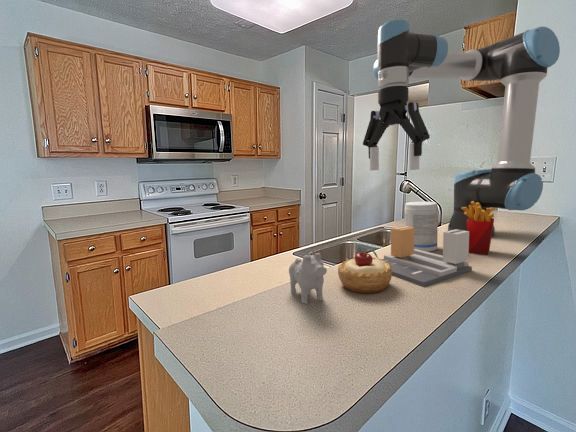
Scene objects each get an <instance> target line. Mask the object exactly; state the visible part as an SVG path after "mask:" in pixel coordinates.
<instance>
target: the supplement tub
mask: <svg viewBox="0 0 576 432" xmlns="http://www.w3.org/2000/svg"><path fill="white" fill-rule="evenodd" d="M438 215H439V213H438V203H437V202H434V201H409V202H408V201H407V202H406V203H405V205H404V226H409V227H412V228H414V249H418V250H422V251H426V252H430V253H432V252H433V251H436V250H437V249H438V229H439V228H438V226H439V225H438V222H439V221H438V217H439V216H438Z"/></svg>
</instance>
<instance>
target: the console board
mask: <svg viewBox="0 0 576 432" xmlns="http://www.w3.org/2000/svg"><path fill="white" fill-rule="evenodd" d="M442 237H443V238H442V239H443V240H442V255H441V254H437V253H434V252H426V251H422V250H418V249H414V255H410V260H405V259H402V258H398V257H395V256H393V255H391V253H388V254H384V255H383V258H382V259H381V258H380V259H381V260H382V261H386V262H387V263H389V264H390V266H391V267H392V276H394V277H396V278H399V279H402V280H404V281H407V282H409V283H413V284H415V285H418V286H421V287H426V286H429V285H432V284H435V283H438V282H441V281H445V280H448V279H451V278H454V277H457V276H459V275H463V274H466V273H469V272H471V271H473V266H470V265H469V252H468V251H469V231H463V230H457V229H455V230H451V231H448V230H447V231H444V232H443V235H442Z"/></svg>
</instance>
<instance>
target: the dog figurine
mask: <svg viewBox="0 0 576 432" xmlns="http://www.w3.org/2000/svg"><path fill="white" fill-rule="evenodd" d="M327 271H328V269H327V268H326V267H324V262H323V260H322V255H321V253H320V252H316V253H315V254H311V255H307V254H306V255H303V257H302V258H299V257H298V258H297V257H296V259H295V260H294V262H292V263H291V264H290V265H289V267H288V274H289V278H290V280H289V281H290V293H291V292H296V291H297V289H296V285H297V284H298V286H299V289H300V290H301V291H300V292H301V294H300V297H301V299H300V301H301V302H302V303H306V304H305V305H307V304H309V303H308V299H309V294H310V293H309V292H310V291H311V290H315V292H316V300H317V299H318V301H320V300H321V301H324V300H323V299H324V296H323V294H324V293H323V285H324V278H325V277H324V275H326V274H327ZM296 293H297V292H296ZM301 302H300V303H301ZM302 303H301V304H302Z"/></svg>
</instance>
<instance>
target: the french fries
mask: <svg viewBox="0 0 576 432" xmlns="http://www.w3.org/2000/svg"><path fill="white" fill-rule="evenodd" d="M471 204H472V205H469V209H468V208H467V207H462V210H464V211H465V212H464V214H465V215H467V216H468V217H469V219H468V220H467V231H469V251H468V254H474V255H482V256H483V255H485V256H489V253H490V249H491V242H492V237H493V236H492V230H493V225H494V223H495V218H494V217H495V214H494V213H492V212H494V211H495V210H496V208H492V207H490V208H486V209H487V212H486V211H485V210H482V208H481V205H480V203H479V202H478V203H475V202H474V201H471ZM474 210H475V215H474ZM479 214H480V218H479Z"/></svg>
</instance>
